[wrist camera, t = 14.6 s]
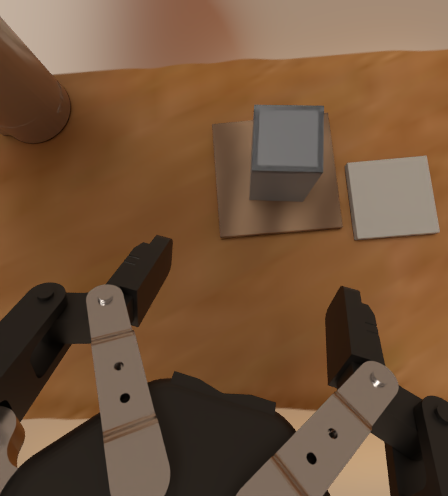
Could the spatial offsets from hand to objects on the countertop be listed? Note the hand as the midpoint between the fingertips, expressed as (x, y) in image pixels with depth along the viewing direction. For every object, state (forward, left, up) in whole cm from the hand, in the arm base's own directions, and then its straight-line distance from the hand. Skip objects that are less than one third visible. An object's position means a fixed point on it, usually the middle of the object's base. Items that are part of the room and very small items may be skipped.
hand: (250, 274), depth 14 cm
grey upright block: (+5, +12, -20) cm, 24 cm away
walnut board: (+5, +13, -21) cm, 25 cm away
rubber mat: (+18, +9, -21) cm, 29 cm away
